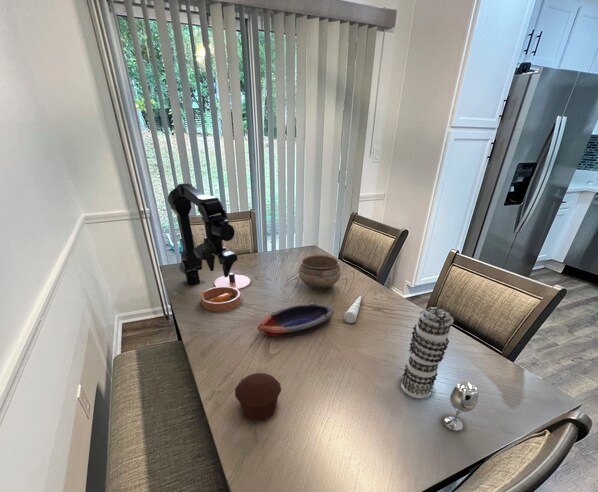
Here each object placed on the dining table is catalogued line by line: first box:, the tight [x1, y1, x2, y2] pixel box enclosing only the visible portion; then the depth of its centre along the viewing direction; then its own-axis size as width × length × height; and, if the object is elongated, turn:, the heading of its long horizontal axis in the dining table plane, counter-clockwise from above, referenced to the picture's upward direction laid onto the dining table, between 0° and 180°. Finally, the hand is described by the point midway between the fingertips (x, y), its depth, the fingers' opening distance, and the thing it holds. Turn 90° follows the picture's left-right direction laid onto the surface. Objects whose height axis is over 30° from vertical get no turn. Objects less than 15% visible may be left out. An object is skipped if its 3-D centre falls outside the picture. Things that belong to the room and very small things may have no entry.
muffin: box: [234, 372, 282, 422], centre depth 83 cm, size 12×11×10 cm
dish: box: [257, 303, 334, 337], centre depth 119 cm, size 16×31×5 cm, turn 118°
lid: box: [213, 272, 252, 291], centre depth 149 cm, size 17×17×5 cm
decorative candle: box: [400, 306, 455, 399], centre depth 86 cm, size 9×9×25 cm
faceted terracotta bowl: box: [200, 286, 242, 312], centre depth 133 cm, size 16×16×4 cm
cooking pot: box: [298, 253, 342, 290], centre depth 146 cm, size 25×19×12 cm
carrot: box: [208, 293, 233, 303], centre depth 133 cm, size 11×3×3 cm, turn 138°
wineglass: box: [443, 381, 479, 431], centre depth 78 cm, size 6×6×12 cm
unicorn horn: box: [343, 295, 362, 324], centre depth 130 cm, size 5×24×5 cm, turn 157°
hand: (219, 274), depth 127 cm, fingers open, 9 cm apart
